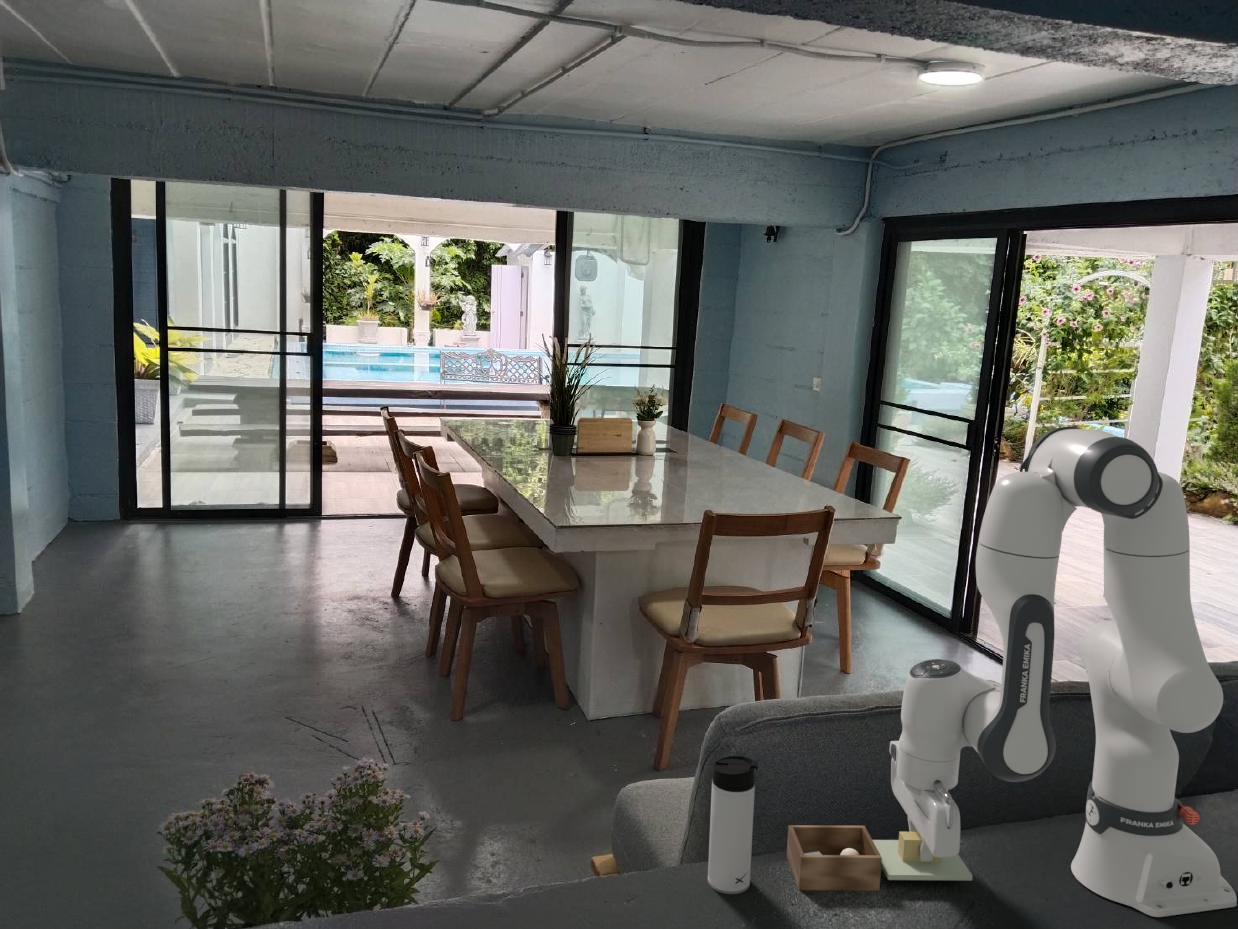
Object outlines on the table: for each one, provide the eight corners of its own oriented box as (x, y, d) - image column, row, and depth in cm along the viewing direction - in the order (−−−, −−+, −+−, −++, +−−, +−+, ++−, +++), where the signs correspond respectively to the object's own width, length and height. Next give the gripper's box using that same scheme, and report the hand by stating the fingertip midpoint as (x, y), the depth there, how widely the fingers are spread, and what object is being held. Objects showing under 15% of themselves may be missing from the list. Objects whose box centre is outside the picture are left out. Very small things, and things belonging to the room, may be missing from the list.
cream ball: (856, 863, 151) (858, 844, 151) (862, 875, 148) (864, 855, 148) (836, 863, 151) (837, 844, 151) (841, 874, 148) (843, 855, 147)
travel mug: (750, 902, 142) (756, 773, 139) (705, 895, 143) (710, 768, 140) (753, 878, 148) (759, 754, 145) (709, 872, 149) (715, 749, 146)
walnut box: (861, 861, 153) (864, 825, 152) (879, 895, 144) (881, 857, 143) (786, 860, 153) (788, 825, 152) (798, 894, 144) (801, 857, 143)
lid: (947, 849, 154) (950, 819, 153) (971, 885, 144) (974, 853, 144) (869, 849, 153) (871, 819, 153) (887, 885, 144) (890, 853, 143)
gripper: (975, 801, 136) (967, 892, 138) (925, 737, 156) (918, 818, 159) (931, 801, 136) (923, 892, 138) (886, 737, 156) (880, 817, 158)
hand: (920, 852), depth 148 cm, fingers closed on lid, 2 cm apart
